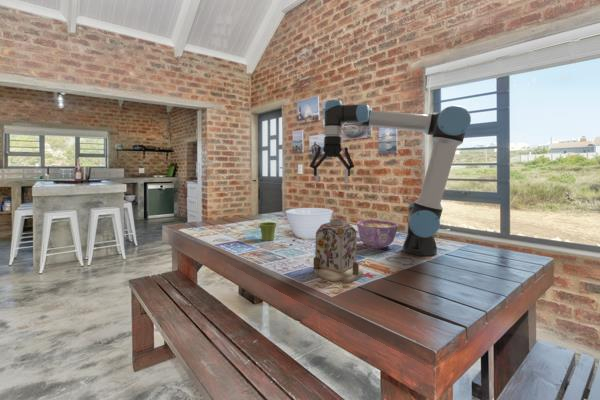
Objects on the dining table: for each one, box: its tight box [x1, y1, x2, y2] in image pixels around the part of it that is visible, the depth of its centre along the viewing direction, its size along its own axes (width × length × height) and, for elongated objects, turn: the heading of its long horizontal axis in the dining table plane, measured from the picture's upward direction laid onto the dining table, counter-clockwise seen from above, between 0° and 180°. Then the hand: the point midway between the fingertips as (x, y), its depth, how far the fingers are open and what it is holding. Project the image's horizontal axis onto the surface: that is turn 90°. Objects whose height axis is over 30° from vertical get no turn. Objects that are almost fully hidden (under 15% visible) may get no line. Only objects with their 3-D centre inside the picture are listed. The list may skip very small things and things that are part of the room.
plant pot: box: [258, 221, 278, 242], centre depth 171 cm, size 9×9×9 cm
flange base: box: [312, 256, 364, 283], centre depth 120 cm, size 18×18×6 cm
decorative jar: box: [314, 218, 358, 273], centre depth 121 cm, size 12×12×18 cm
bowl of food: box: [356, 219, 399, 249], centre depth 159 cm, size 20×20×12 cm
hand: (331, 183), depth 147 cm, fingers open, 13 cm apart
